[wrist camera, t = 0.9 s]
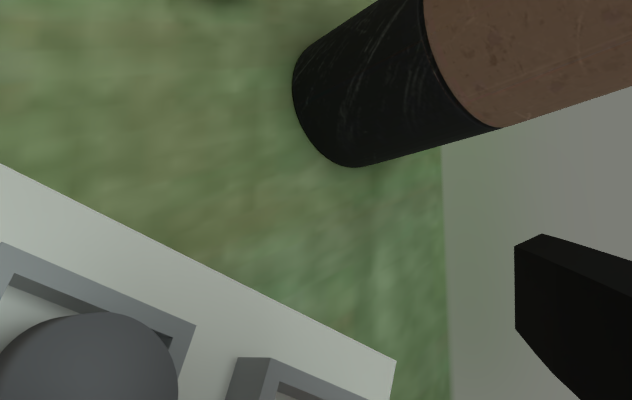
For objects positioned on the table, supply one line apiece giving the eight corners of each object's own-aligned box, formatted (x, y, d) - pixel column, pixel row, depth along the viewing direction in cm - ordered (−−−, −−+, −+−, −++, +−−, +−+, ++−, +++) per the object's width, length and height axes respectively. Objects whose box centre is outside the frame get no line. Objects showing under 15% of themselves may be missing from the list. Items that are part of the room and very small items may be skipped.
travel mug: (280, 148, 28) (807, -74, 13) (293, 12, 31) (755, -305, 16) (389, 189, 33) (872, 57, 18) (393, 68, 35) (823, -136, 20)
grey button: (108, 499, 15) (141, 515, 14) (-56, 461, 13) (-37, 475, 12) (164, 346, 17) (199, 345, 15) (28, 292, 15) (53, 285, 13)
